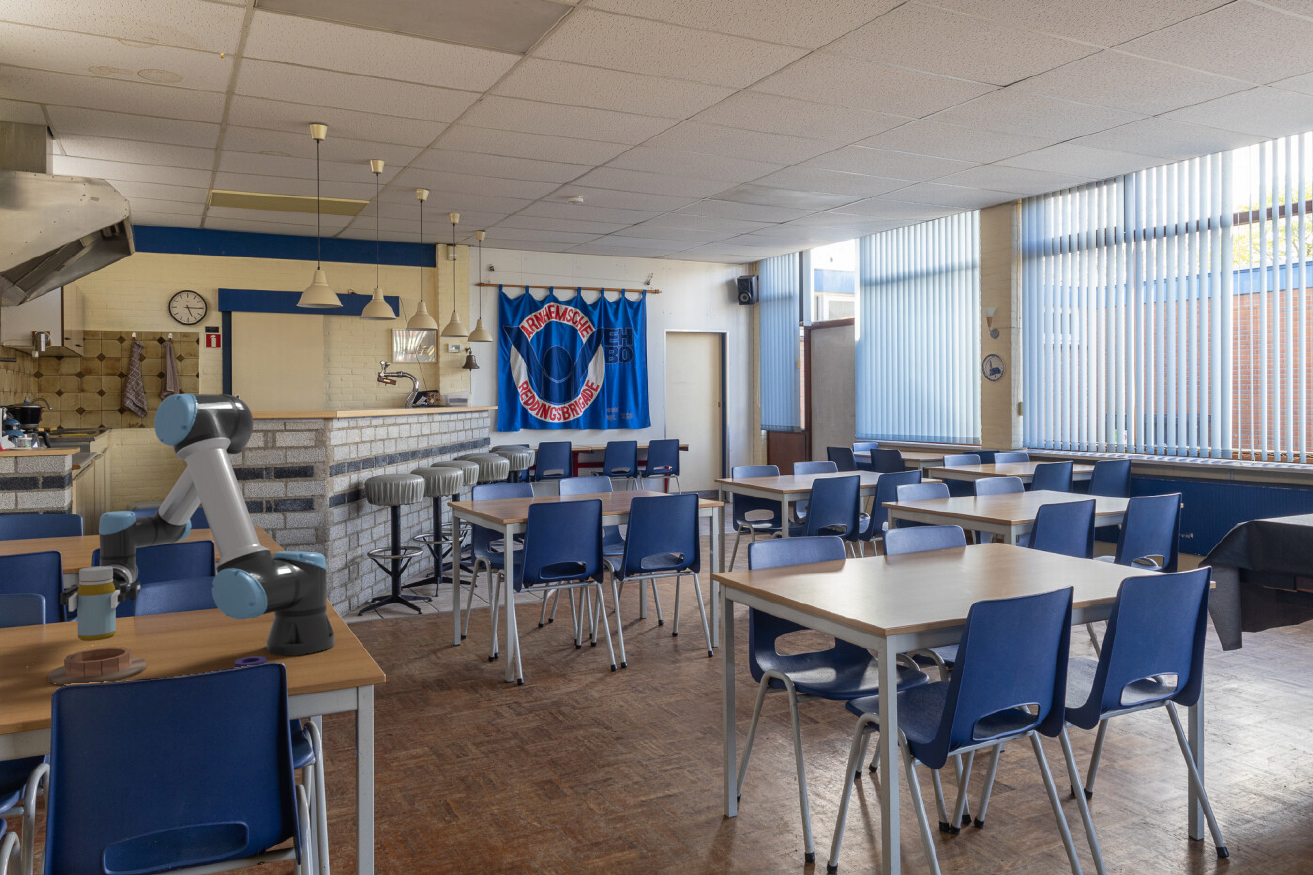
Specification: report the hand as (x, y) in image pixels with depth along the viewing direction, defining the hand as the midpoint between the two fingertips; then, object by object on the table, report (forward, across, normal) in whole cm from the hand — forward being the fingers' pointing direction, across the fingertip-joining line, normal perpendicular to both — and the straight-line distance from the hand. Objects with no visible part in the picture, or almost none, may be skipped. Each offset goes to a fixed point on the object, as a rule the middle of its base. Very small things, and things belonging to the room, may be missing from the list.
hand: (92, 603), depth 188 cm
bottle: (-5, 0, -9) cm, 10 cm away
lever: (+11, -29, -16) cm, 35 cm away
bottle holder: (-5, 0, -16) cm, 17 cm away
